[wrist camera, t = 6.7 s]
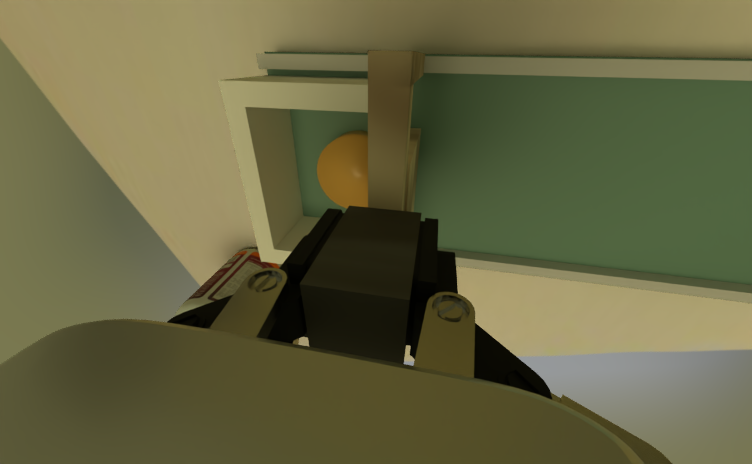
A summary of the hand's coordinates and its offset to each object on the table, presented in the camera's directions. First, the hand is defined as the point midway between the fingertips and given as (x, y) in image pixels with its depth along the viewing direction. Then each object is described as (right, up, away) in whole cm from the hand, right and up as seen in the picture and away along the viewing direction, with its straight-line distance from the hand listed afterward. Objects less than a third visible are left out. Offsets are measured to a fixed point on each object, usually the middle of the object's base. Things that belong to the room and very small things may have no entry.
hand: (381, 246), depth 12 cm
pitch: (+11, +5, +8) cm, 14 cm away
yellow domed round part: (-1, +5, +9) cm, 10 cm away
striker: (+2, +5, +8) cm, 9 cm away
